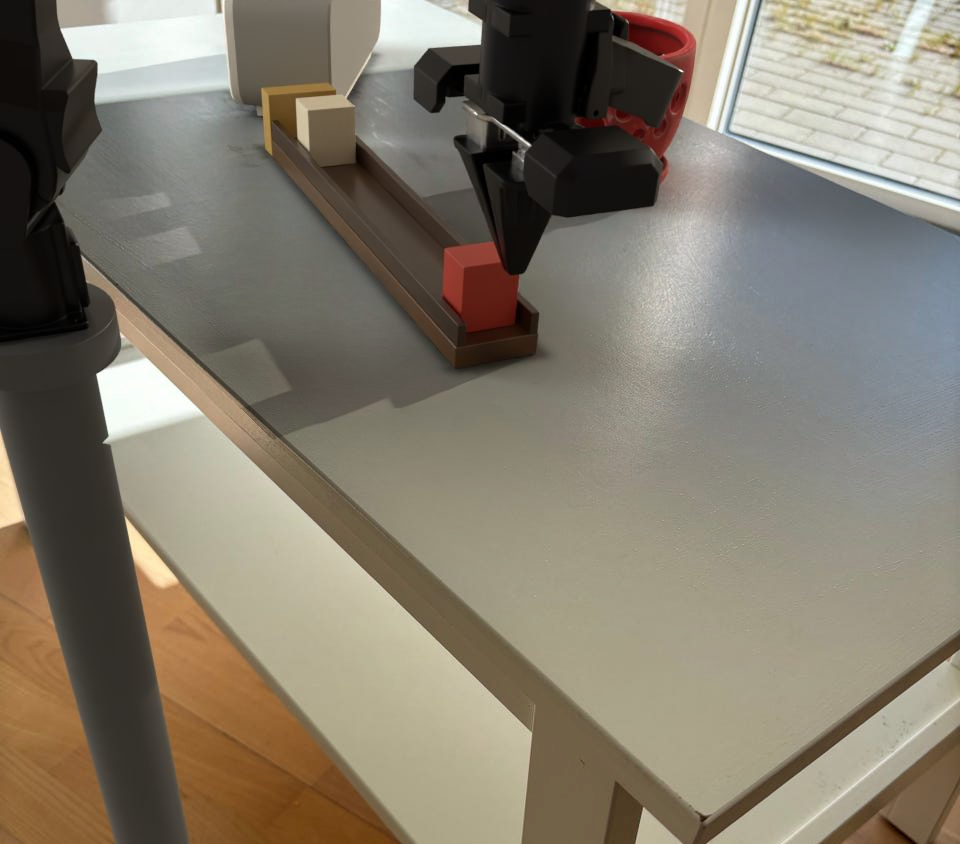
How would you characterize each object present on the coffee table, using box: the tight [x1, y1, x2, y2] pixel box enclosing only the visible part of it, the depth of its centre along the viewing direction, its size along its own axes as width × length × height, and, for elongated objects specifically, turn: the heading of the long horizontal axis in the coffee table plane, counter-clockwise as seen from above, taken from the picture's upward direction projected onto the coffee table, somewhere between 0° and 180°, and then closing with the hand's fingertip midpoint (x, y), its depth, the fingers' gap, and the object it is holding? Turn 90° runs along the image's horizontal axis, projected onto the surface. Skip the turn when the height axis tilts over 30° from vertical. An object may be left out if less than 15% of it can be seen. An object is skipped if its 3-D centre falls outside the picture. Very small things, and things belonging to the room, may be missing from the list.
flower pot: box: [575, 10, 697, 185], centre depth 91 cm, size 13×13×12 cm
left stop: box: [261, 83, 336, 158], centre depth 94 cm, size 6×2×5 cm, turn 116°
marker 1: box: [296, 95, 356, 167], centre depth 89 cm, size 4×3×4 cm
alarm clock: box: [222, 0, 382, 117], centre depth 105 cm, size 27×9×12 cm, turn 174°
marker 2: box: [442, 240, 520, 333], centre depth 70 cm, size 4×3×4 cm
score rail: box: [271, 120, 540, 369], centre depth 82 cm, size 6×38×3 cm, turn 26°
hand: (514, 272), depth 66 cm, fingers closed
